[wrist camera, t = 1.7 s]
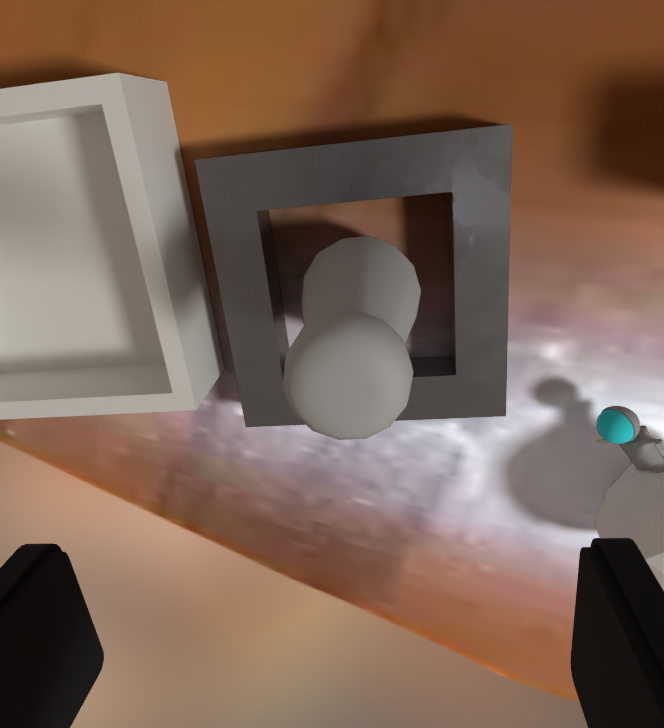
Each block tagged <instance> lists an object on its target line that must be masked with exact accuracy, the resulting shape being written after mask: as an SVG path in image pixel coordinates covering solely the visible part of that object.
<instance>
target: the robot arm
mask: <svg viewBox="0 0 664 728" xmlns="http://www.w3.org/2000/svg"><path fill="white" fill-rule="evenodd" d="M103 660H104V653H103V649H102V646H101V643H100V641H99V638H98V636H97V633H96V630H95V627H94V624H93V622H92V619H91V616H90V614H89V611H88V608H87V605H86V603H85V600H84V597H83V595H82V592H81V589H80V587H79V584H78V581H77V578H76V575H75V573H74V570H73V567H72V564H71V562H70V559H69V557H68V555H67V553H65V552H62V550H61V548H60V547H59V546H58V545H57V544H25V545H23V546H21V547H20V548H19V549H17V550H16V551H15V552H14V554H13V555H12V556H11V557H10V558H9V559H8V560H7V561H6V563H4V565H3V566H2V567H1V568H0V728H70V726H71V725H72V723H73V721H74V719H75V717H76V716H77V714H78V712H79V710H80V708H81V706H82V705H83V703H84V701H85V699H86V697H87V695H88V693H89V692H90V690H91V688H92V686H93V684H94V682H95V681H96V679H97V677H98V675H99V673H100V671H101V669H102V665H103ZM571 671H572V677H573V682H574V685H575V688H576V691H577V695H578V698H579V701H580V704H581V707H582V710H583V713H584V716H585V719H586V722H587V725H588V728H664V591H663V589H662V587H661V585H660V584H659V582H658V580H657V579H656V577H655V575H654V574H653V572H652V570H651V568H650V567H649V565H648V563H647V562H646V560H645V558H644V557H643V555H642V553H641V551H640V550H639V548H638V546H637V545H636V543H635V542H634V541H633V540H632V539H631V538H595V539H593V540H592V543H591V547H583V548H581V551H580V559H579V570H578V582H577V593H576V605H575V616H574V627H573V639H572V650H571Z"/></svg>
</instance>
